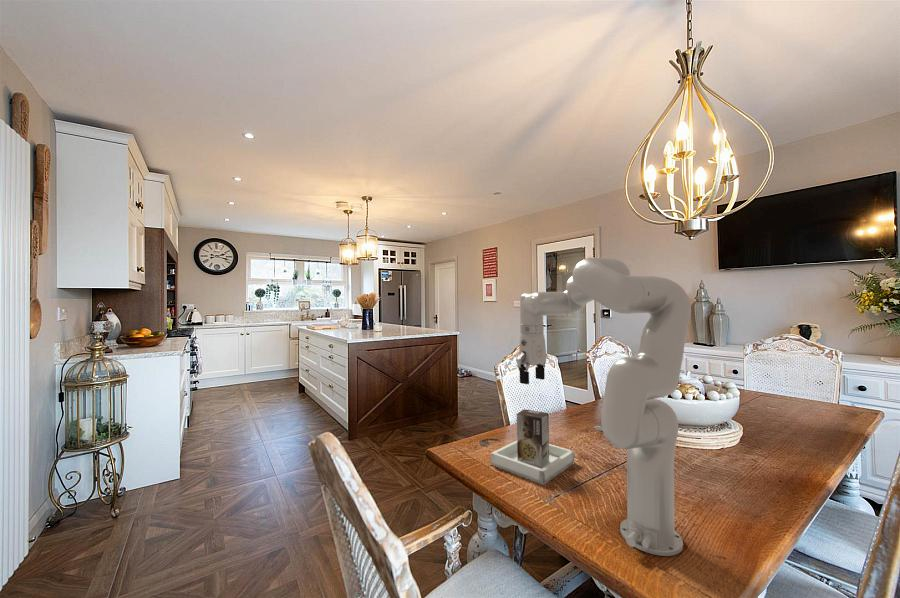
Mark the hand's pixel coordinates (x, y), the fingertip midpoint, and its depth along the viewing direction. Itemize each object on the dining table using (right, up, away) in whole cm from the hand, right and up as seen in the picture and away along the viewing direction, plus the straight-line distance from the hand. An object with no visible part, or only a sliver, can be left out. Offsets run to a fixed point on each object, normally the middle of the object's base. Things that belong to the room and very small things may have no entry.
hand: (532, 381), depth 123 cm
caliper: (+38, -28, +25) cm, 54 cm away
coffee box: (0, -27, 0) cm, 27 cm away
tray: (0, -28, 0) cm, 28 cm away
